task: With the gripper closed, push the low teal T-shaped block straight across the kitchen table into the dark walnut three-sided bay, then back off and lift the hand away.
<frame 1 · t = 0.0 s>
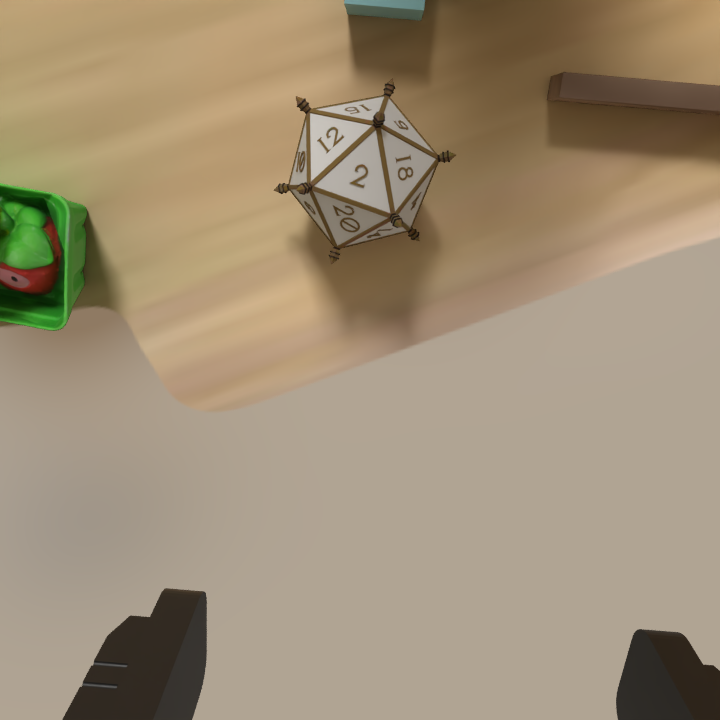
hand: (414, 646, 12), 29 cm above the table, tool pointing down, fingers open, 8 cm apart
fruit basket: (15, 224, 39), on the table
game die: (362, 169, 37), on the table
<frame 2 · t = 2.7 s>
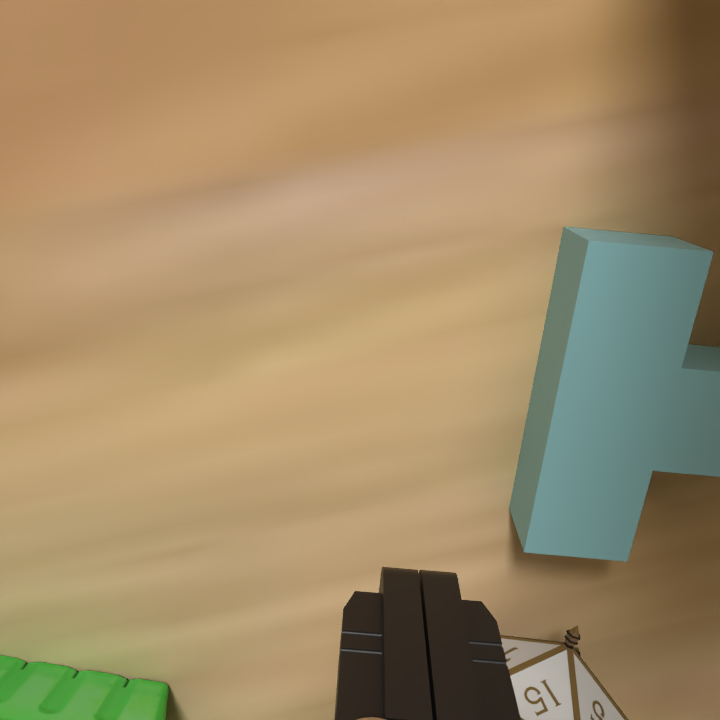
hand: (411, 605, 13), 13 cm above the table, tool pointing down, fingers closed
teal T block: (672, 391, 25), on the table
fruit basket: (79, 692, 32), on the table
game die: (512, 652, 30), on the table
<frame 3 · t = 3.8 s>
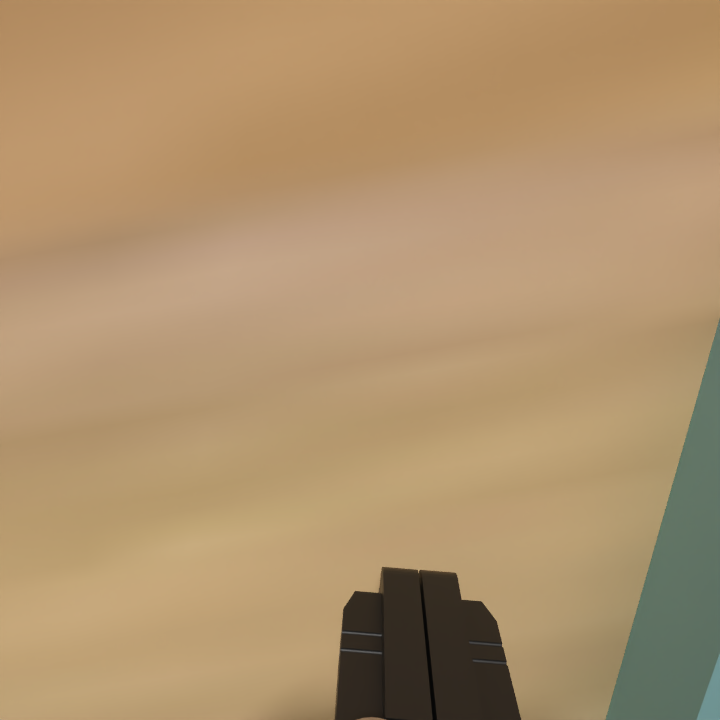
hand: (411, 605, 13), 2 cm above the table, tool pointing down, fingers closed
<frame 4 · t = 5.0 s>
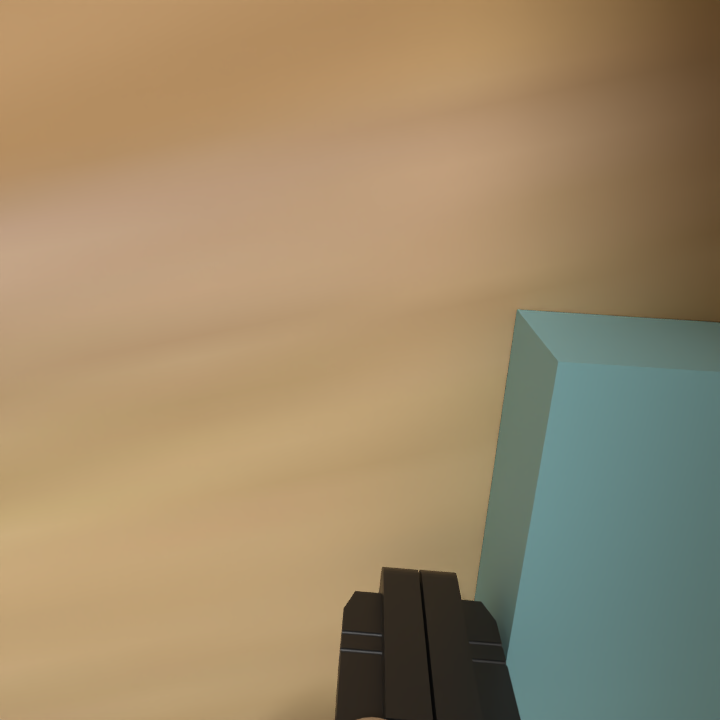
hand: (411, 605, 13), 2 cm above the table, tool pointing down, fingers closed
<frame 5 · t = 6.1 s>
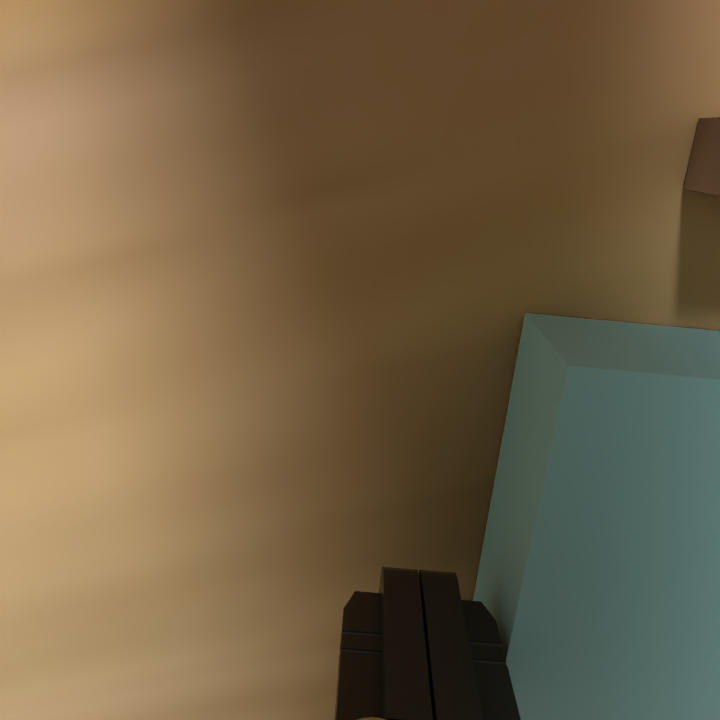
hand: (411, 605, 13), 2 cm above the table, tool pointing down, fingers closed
teal T block: (719, 589, 14), on the table, touching gripper
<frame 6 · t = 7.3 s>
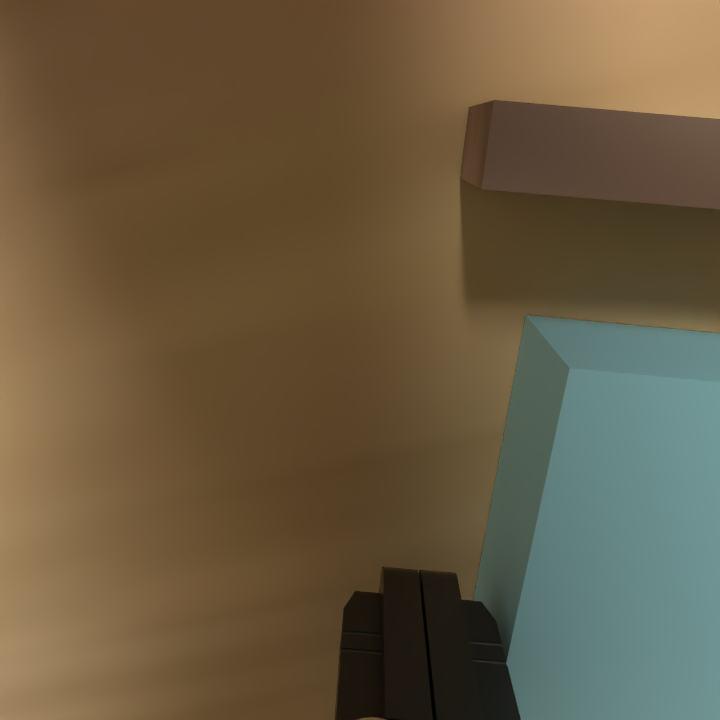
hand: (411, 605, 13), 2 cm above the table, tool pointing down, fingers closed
teal T block: (719, 590, 14), on the table, touching gripper
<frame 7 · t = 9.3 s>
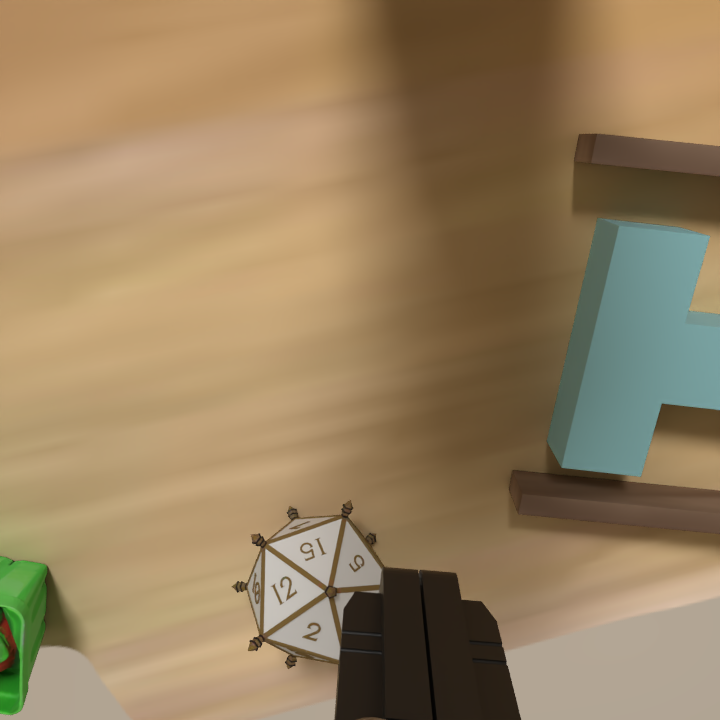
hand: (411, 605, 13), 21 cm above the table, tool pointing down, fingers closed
teal T block: (676, 348, 33), on the table
walnut bay: (676, 342, 32), on the table
game die: (324, 538, 37), on the table
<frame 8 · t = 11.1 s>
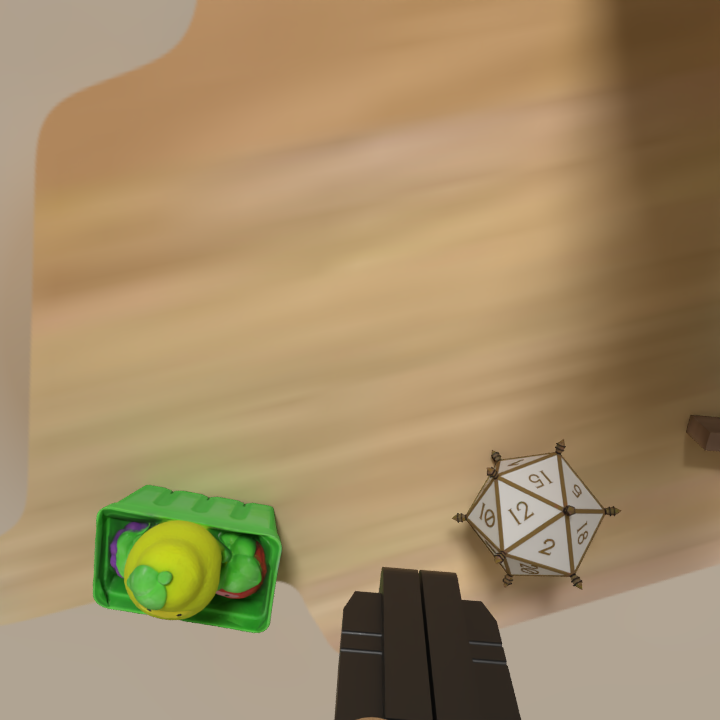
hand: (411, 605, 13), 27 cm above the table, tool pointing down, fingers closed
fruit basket: (207, 516, 44), on the table
game die: (519, 479, 43), on the table
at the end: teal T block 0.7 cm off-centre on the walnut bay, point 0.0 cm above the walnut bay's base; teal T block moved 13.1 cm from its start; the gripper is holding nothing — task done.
